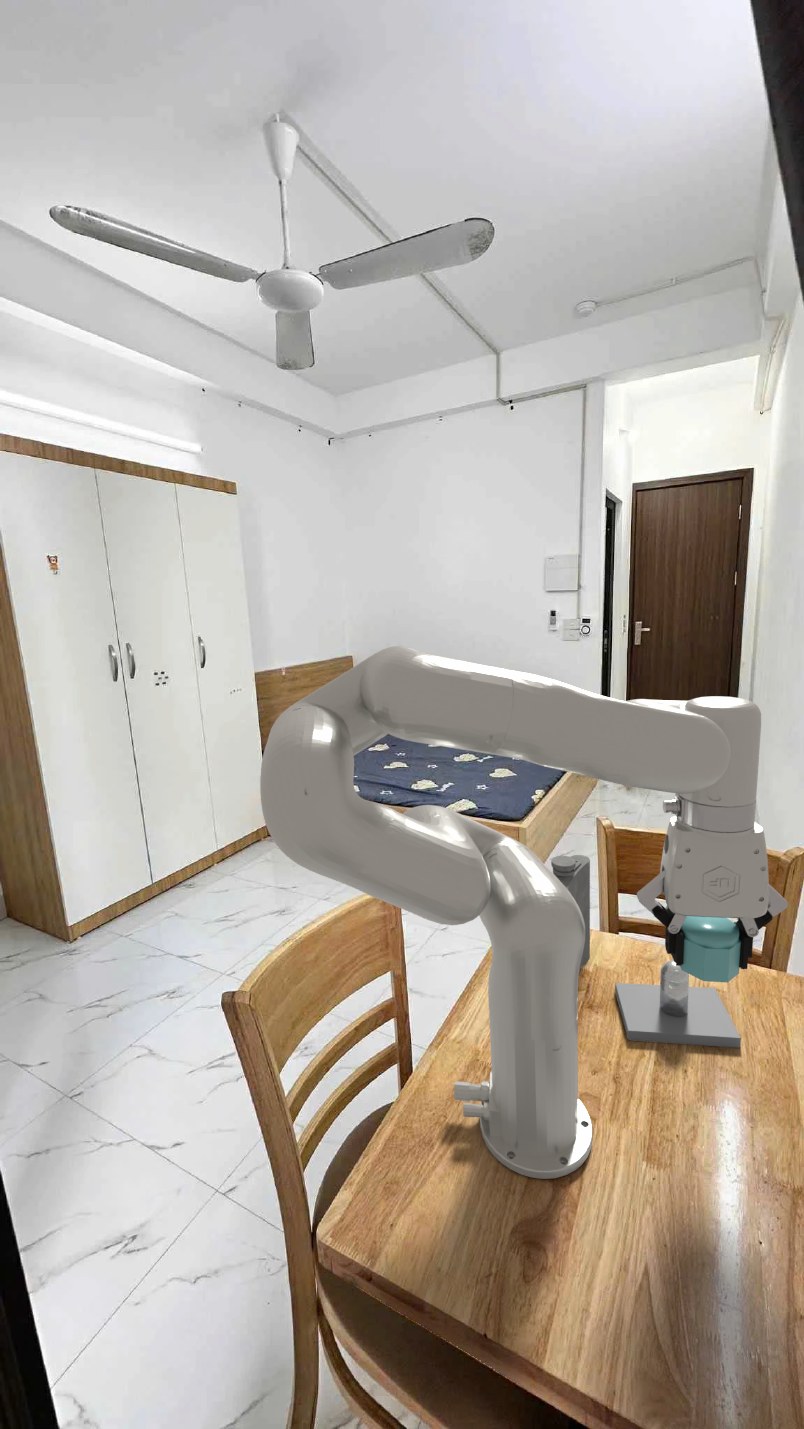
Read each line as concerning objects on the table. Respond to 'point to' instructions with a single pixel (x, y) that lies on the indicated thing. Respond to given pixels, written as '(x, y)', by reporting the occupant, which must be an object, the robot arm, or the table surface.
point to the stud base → (696, 1028)
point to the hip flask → (576, 889)
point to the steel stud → (674, 990)
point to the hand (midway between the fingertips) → (707, 958)
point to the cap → (711, 948)
